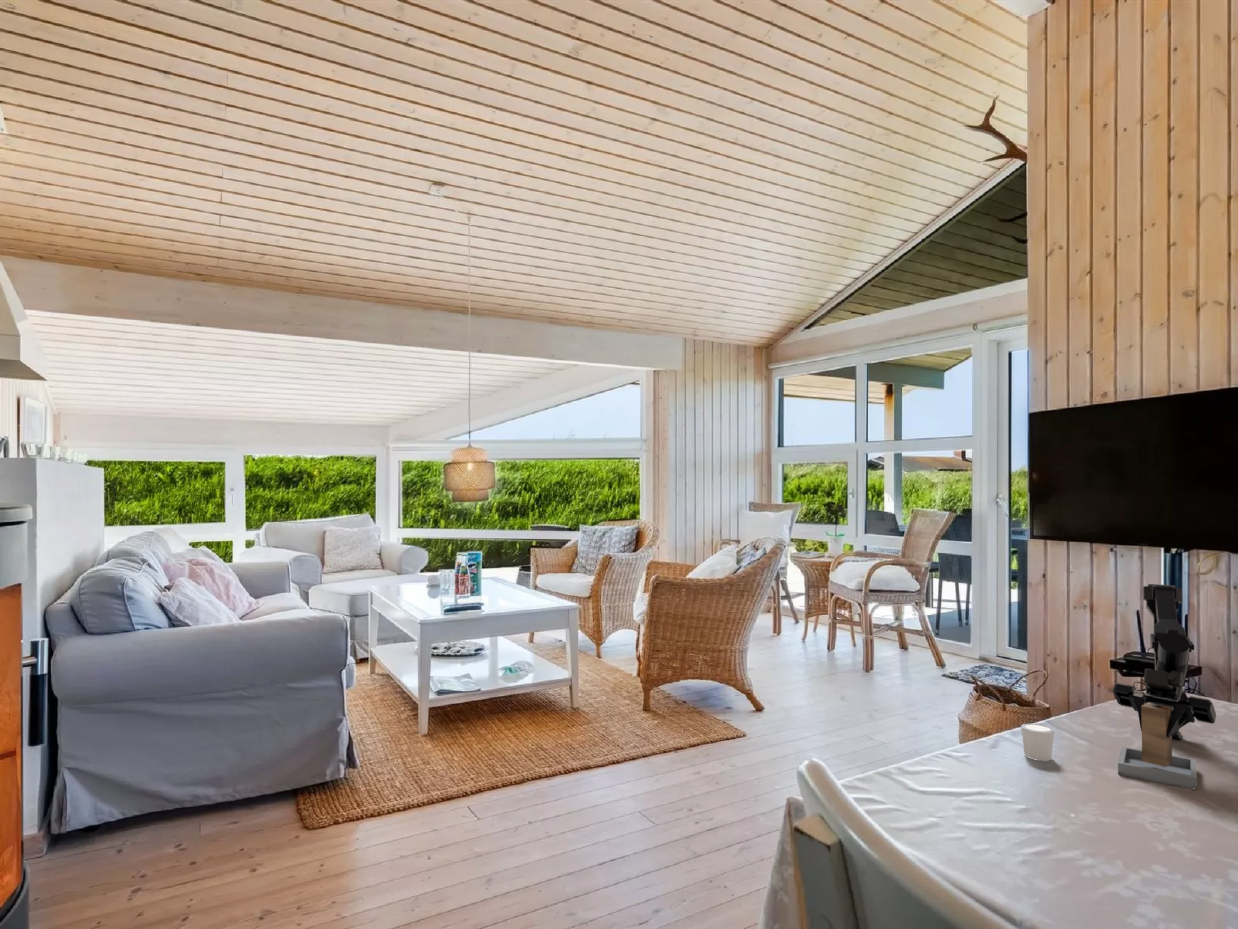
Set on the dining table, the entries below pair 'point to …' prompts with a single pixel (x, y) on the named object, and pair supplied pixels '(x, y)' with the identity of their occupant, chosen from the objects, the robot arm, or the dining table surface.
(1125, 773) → the grey tray
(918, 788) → the dining table surface
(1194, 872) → the dining table surface
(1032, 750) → the white cup
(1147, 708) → the walnut block
